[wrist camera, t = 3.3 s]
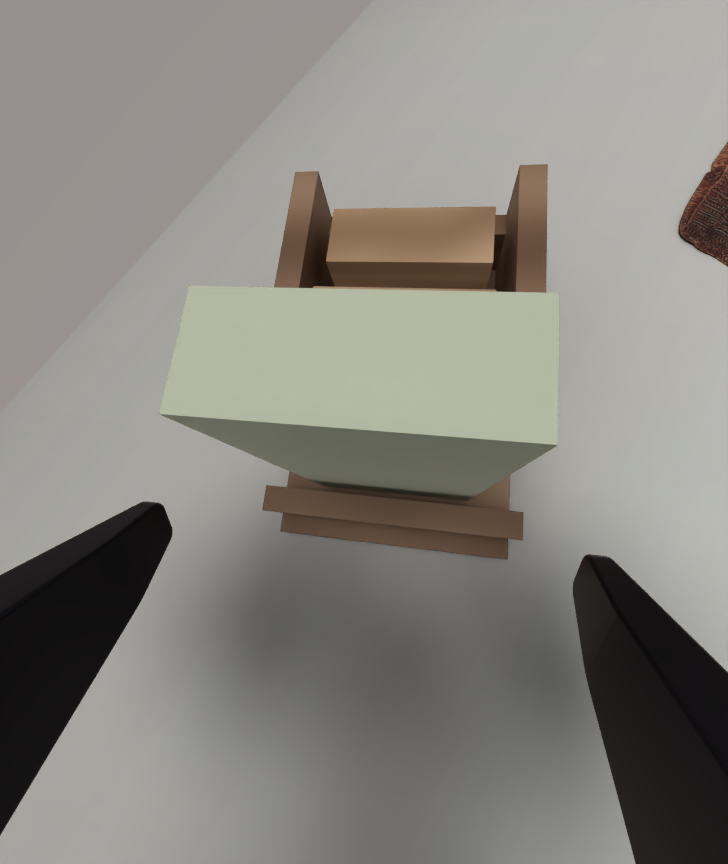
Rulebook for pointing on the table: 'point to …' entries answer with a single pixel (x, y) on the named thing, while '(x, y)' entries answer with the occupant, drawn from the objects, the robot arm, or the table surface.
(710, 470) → the table surface
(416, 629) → the table surface
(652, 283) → the table surface
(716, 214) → the wooden tablet
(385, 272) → the small oak offcut
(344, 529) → the offcut rack
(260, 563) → the table surface
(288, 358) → the tall board
